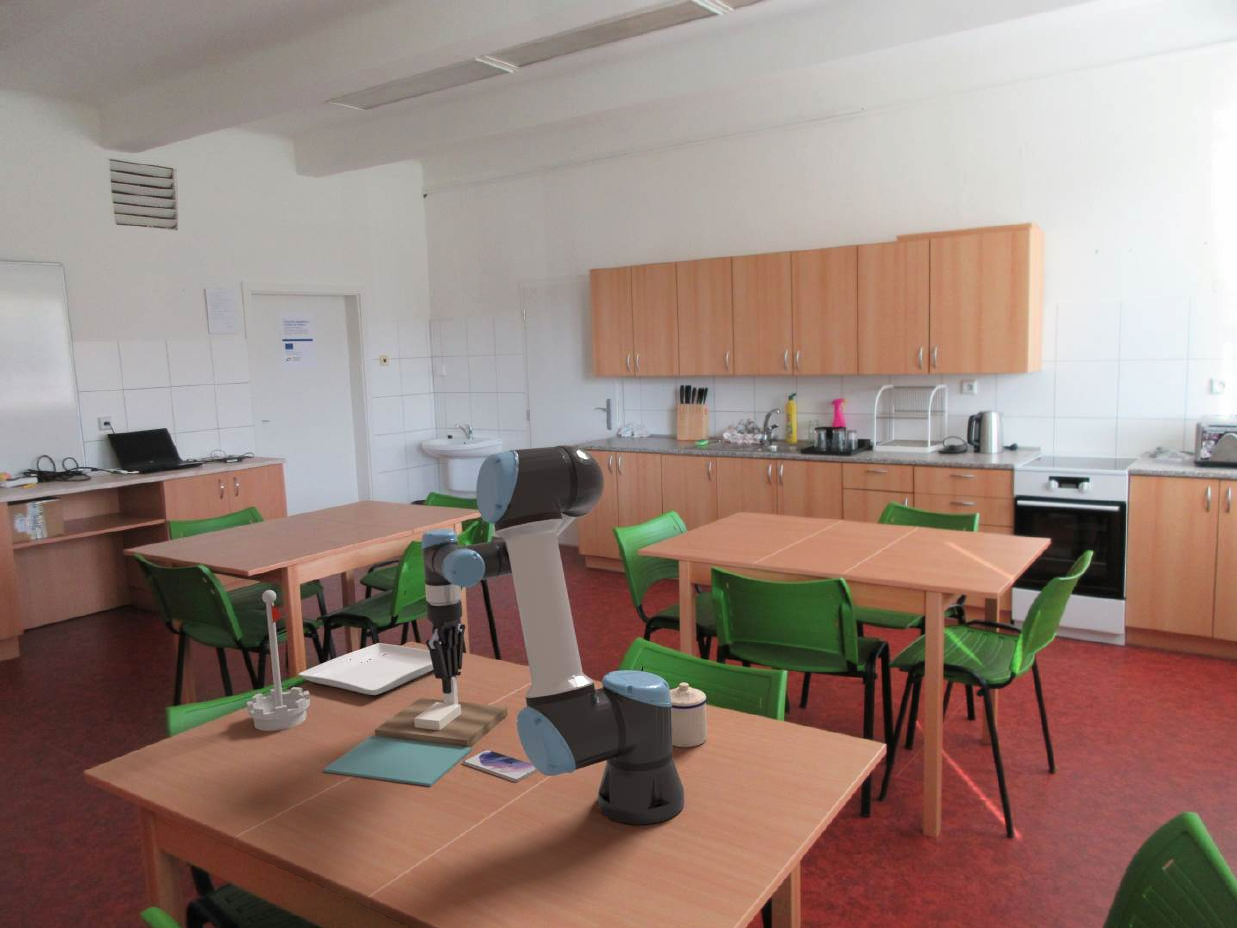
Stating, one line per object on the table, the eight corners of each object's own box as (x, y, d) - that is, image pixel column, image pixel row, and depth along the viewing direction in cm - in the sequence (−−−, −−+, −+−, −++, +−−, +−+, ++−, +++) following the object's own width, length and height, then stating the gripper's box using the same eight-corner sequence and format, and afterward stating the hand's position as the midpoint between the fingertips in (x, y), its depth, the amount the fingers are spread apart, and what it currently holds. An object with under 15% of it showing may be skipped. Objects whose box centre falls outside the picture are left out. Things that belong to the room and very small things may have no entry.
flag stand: (238, 723, 206) (225, 592, 202) (293, 704, 215) (281, 579, 211) (266, 737, 197) (253, 601, 193) (322, 718, 206) (310, 588, 203)
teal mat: (430, 786, 171) (430, 783, 171) (323, 771, 180) (323, 769, 179) (472, 749, 186) (472, 747, 186) (371, 737, 194) (371, 735, 194)
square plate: (454, 668, 237) (453, 653, 236) (374, 705, 214) (373, 689, 213) (379, 653, 251) (378, 639, 251) (297, 686, 228) (295, 671, 228)
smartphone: (486, 748, 186) (541, 766, 177) (486, 752, 186) (542, 770, 177) (460, 761, 180) (516, 780, 171) (460, 765, 180) (516, 784, 171)
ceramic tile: (439, 730, 192) (439, 720, 192) (414, 727, 194) (414, 718, 194) (461, 713, 200) (460, 704, 200) (437, 710, 202) (436, 702, 202)
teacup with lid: (715, 734, 189) (714, 680, 187) (694, 752, 181) (692, 695, 180) (665, 723, 195) (663, 670, 194) (642, 740, 188) (640, 685, 186)
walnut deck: (467, 749, 187) (467, 740, 186) (375, 738, 194) (374, 729, 194) (507, 715, 203) (507, 706, 203) (421, 706, 211) (420, 697, 211)
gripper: (444, 592, 206) (451, 693, 209) (412, 608, 194) (420, 715, 197) (473, 593, 204) (480, 696, 207) (443, 610, 191) (450, 718, 194)
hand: (451, 705), depth 202 cm, fingers closed
